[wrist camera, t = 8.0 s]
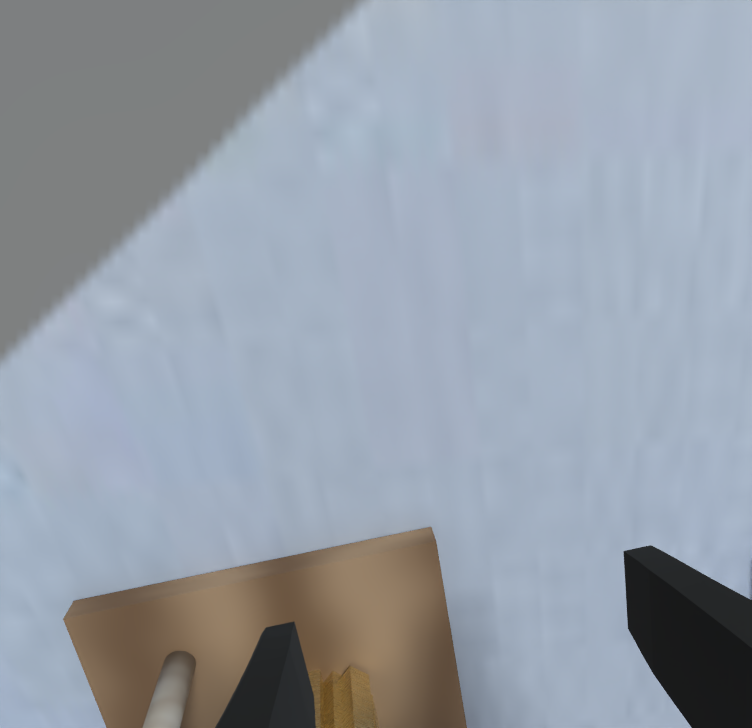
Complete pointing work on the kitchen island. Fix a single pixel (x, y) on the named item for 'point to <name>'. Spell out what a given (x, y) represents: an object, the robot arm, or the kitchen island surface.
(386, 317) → the kitchen island surface
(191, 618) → the gear board
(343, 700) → the brass gear
